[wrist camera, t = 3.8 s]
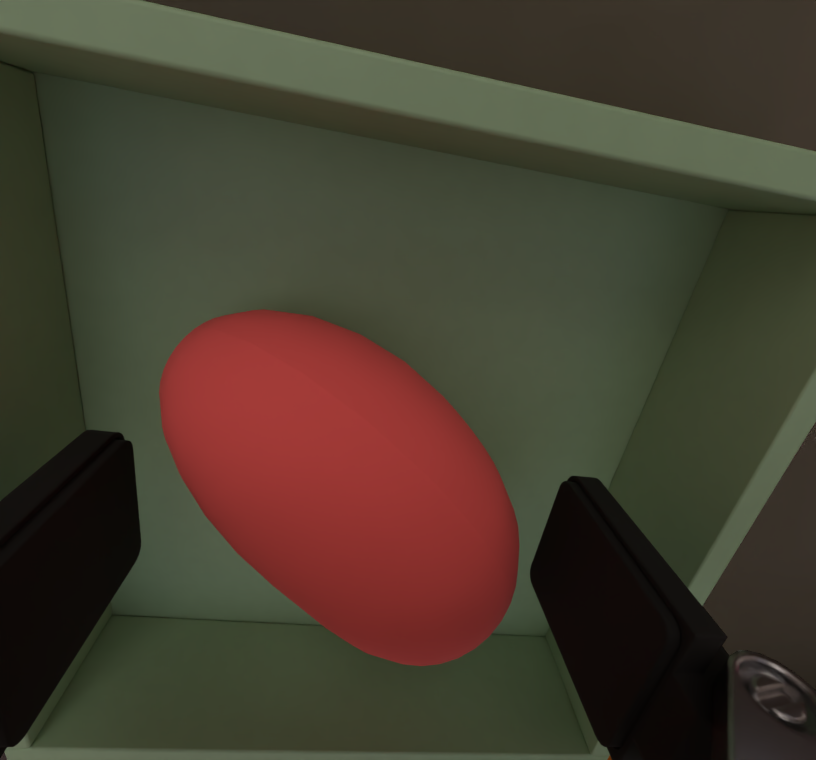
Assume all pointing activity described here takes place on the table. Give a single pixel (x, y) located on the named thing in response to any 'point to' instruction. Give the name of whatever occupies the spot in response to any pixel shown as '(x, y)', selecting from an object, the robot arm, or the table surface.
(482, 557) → the red oval piece
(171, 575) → the tote
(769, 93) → the table surface
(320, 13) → the table surface
